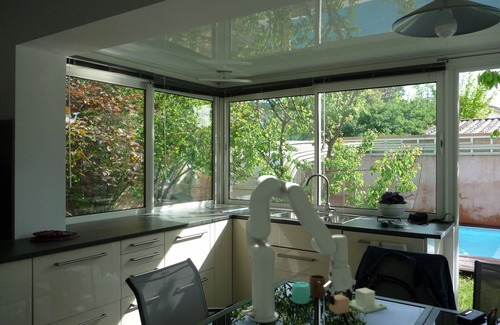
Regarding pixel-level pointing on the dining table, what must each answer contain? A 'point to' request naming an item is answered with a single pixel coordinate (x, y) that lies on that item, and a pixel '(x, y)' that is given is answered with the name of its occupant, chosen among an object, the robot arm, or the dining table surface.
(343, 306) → the orange tan cube
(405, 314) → the dining table surface
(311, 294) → the mug
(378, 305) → the tower plate
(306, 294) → the turquoise cylinder
